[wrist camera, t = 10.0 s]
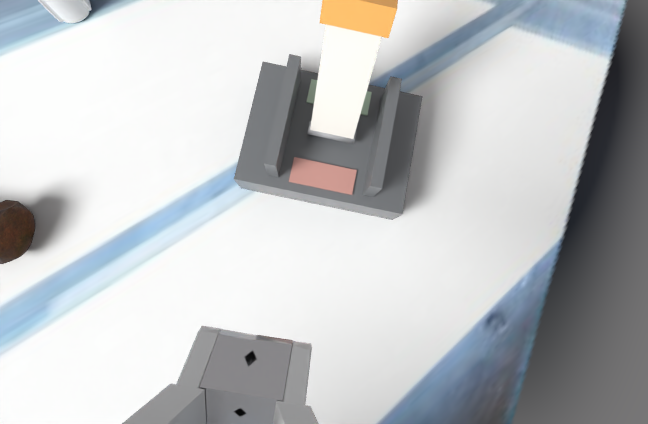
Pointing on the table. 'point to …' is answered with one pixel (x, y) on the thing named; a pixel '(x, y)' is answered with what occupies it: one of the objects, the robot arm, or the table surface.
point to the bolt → (14, 230)
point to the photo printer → (68, 9)
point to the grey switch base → (328, 145)
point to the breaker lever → (347, 63)
